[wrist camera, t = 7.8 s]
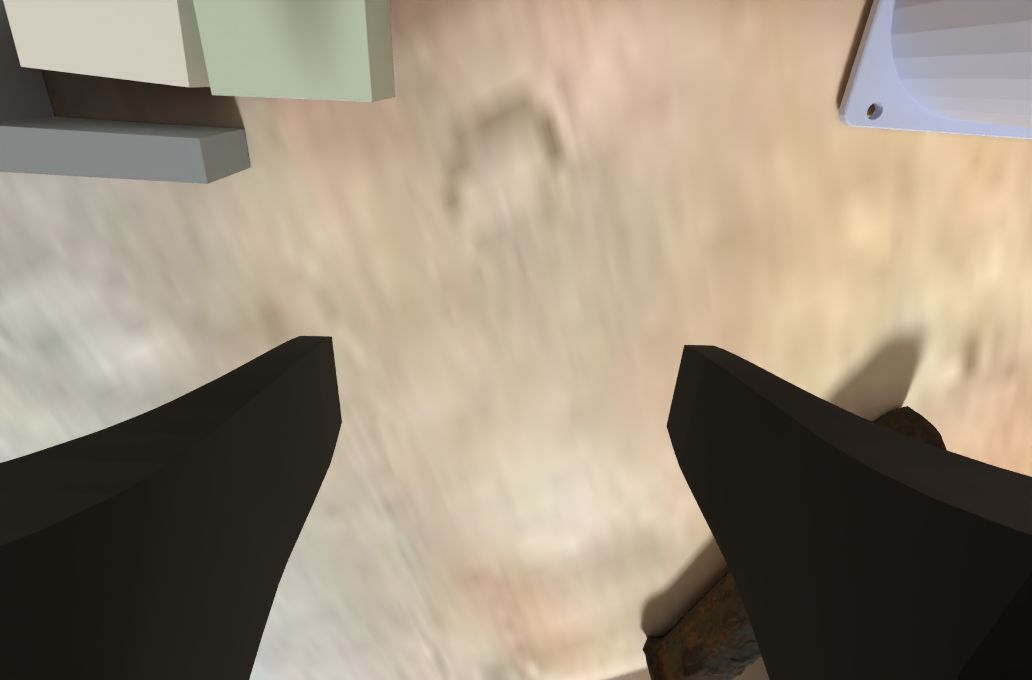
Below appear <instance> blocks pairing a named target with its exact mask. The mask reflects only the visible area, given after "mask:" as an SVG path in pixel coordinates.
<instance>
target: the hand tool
mask: <svg viewBox="0 0 1032 680" xmlns="http://www.w3.org/2000/svg"><path fill="white" fill-rule="evenodd" d="M873 423H875V424H878V425H880V426H883V427H885V428H888V429H891V430H893V431H896V432H898V433H901V434H903V435H906V436H908V437H911V438H913V439H916V440H918V441H921V442H924V443H927V444H930V445H932V446H935V447H938V448H941V449H944V450H946V447H945V444H944V442H943V440H942V437H941V435H940V433H939V432H938V431H937V429H936V428H935V427H934V426H933V425H932V424H931V423H930V422H929V421H928V420H926V419H925V418H924V417H923V416H921V415H920V414H919V413H917V412H915V411H914V410H913V409H911V408H910V407H908V406H907V407H902V408H899V409H896V410H895V411H892V412H888V413H886V414H885V415H884V416H882V417H880V418H879V419H877V420H876V421H874V422H873ZM946 451H947V450H946ZM643 651H644V653H645V655H646V661H647V666H648V669H649V673H650V676H651V680H733V679H734V678H735V677H736V676H738V675H741V674H742V673H743V671H744V670H745V668H746V667H747V666H749V665H750V664H753V663H754V662H755V661H756V660H758V658H759V657H761V656H762V655H761V652H760V649H759V646H758V643H757V640H756V637H755V635H754V632H753V629H752V626H751V623H750V621H749V618H748V615H747V613H746V610H745V607H744V604H743V602H742V599H741V596H740V594H739V591H738V588H737V586H736V583H735V580H734V578H733V576H732V574H731V571H729V572H728V574H727V575H726V576H725V577H723V578H722V579H721V580H720V581H719V582H718V583H717V584H716V585H715V586H714V587H713V588H712V589H711V590H710V591H709V592H708V593H707V594H706V595H705V596H704V597H703V598H702V599H701V600H700V601H699V602H698V603H697V604H696V605H695V606H694V607H693V608H692V609H691V610H690V611H689V612H688V613H687V614H686V615H685V616H684V617H683V618H682V619H681V620H680V621H679V623H678V624H677V625H676V626H675V628H674V629H673V630H671V631H670V632H669V633H668V634H667V635H666V636H665V637H664V638H660V637H654V636H649V637H648V638H647V640H646V642H645V645H644V648H643Z"/></svg>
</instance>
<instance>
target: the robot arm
mask: <svg viewBox="0 0 1032 680" xmlns="http://www.w3.org/2000/svg"><path fill="white" fill-rule="evenodd" d="M873 103H874V105H875V111H874V113H873V115H872V116H871V117H869V118H868V117H867V110H868V108H869V107H870V106H871V105H872V104H873ZM839 118H840V121H841V122H842V123H843V124H845V125H848V126H855V127H868V128H882V129H896V130H910V131H923V132H937V133H951V134H965V135H979V136H992V137H1006V138H1020V139H1032V0H874V1H873V4H872V7H871V11H870V14H869V17H868V20H867V23H866V26H865V29H864V33H863V36H862V39H861V42H860V45H859V48H858V52H857V55H856V58H855V61H854V64H853V67H852V71H851V74H850V77H849V80H848V83H847V86H846V90H845V93H844V96H843V99H842V102H841V105H840V109H839ZM341 423H342V419H341V410H340V402H339V394H338V385H337V377H336V368H335V360H334V352H333V343H332V337H324V336H299V337H296V338H294V339H292V340H289V341H287V342H285V343H283V344H281V345H279V346H277V347H275V348H274V349H272V350H270V351H268V352H266V353H264V354H262V355H261V356H259V357H257V358H255V359H253V360H251V361H250V362H248V363H246V364H244V365H242V366H240V367H238V368H237V369H235V370H233V371H231V372H229V373H227V374H225V375H224V376H222V377H220V378H218V379H216V380H214V381H212V382H210V383H208V384H206V385H203V386H201V387H199V388H197V389H195V390H193V391H191V392H189V393H187V394H185V395H183V396H181V397H179V398H177V399H175V400H173V401H171V402H169V403H166V404H164V405H162V406H160V407H158V408H155V409H153V410H151V411H148V412H146V413H144V414H141V415H139V416H136V417H134V418H131V419H129V420H126V421H124V422H121V423H119V424H116V425H114V426H111V427H108V428H106V429H103V430H100V431H98V432H95V433H92V434H89V435H86V436H83V437H80V438H77V439H74V440H71V441H68V442H65V443H62V444H59V445H56V446H53V447H50V448H47V449H44V450H41V451H38V452H35V453H32V454H29V455H26V456H23V457H20V458H16V459H13V460H10V461H6V462H2V463H0V680H249V678H250V675H251V671H252V668H253V665H254V661H255V658H256V655H257V651H258V648H259V645H260V641H261V638H262V635H263V632H264V628H265V625H266V622H267V619H268V616H269V613H270V610H271V607H272V603H273V600H274V597H275V594H276V591H277V588H278V585H279V582H280V579H281V577H282V574H283V572H284V569H285V567H286V564H287V562H288V559H289V557H290V555H291V552H292V550H293V548H294V546H295V543H296V541H297V539H298V537H299V534H300V532H301V530H302V527H303V525H304V523H305V521H306V518H307V516H308V514H309V512H310V509H311V507H312V505H313V503H314V500H315V498H316V496H317V494H318V491H319V489H320V487H321V484H322V482H323V480H324V477H325V475H326V473H327V470H328V468H329V466H330V463H331V460H332V456H333V453H334V449H335V446H336V442H337V438H338V435H339V431H340V427H341ZM667 429H668V432H669V435H670V439H671V442H672V445H673V449H674V452H675V455H676V458H677V461H678V464H679V466H680V468H681V471H682V473H683V475H684V477H685V479H686V481H687V483H688V485H689V487H690V489H691V491H692V493H693V496H694V498H695V500H696V502H697V504H698V506H699V508H700V510H701V512H702V514H703V516H704V518H705V520H706V522H707V524H708V526H709V528H710V530H711V532H712V534H713V536H714V538H715V540H716V542H717V544H718V546H719V548H720V550H721V552H722V554H723V556H724V558H725V560H726V562H727V565H728V567H729V569H730V571H731V574H732V576H733V578H734V580H735V583H736V586H737V588H738V591H739V594H740V596H741V599H742V602H743V604H744V607H745V610H746V613H747V615H748V618H749V621H750V623H751V626H752V629H753V632H754V635H755V637H756V640H757V643H758V646H759V649H760V652H761V655H762V658H763V661H764V664H765V667H766V670H767V673H768V676H769V679H770V680H1032V477H1030V476H1026V475H1023V474H1020V473H1016V472H1013V471H1009V470H1006V469H1002V468H999V467H996V466H993V465H989V464H986V463H983V462H980V461H977V460H974V459H971V458H968V457H965V456H962V455H959V454H956V453H953V452H949V451H946V450H944V449H941V448H938V447H935V446H932V445H930V444H927V443H924V442H921V441H918V440H916V439H913V438H911V437H908V436H906V435H903V434H901V433H898V432H896V431H893V430H891V429H888V428H885V427H883V426H880V425H878V424H875V423H873V422H871V421H868V420H866V419H864V418H861V417H859V416H857V415H855V414H853V413H850V412H848V411H846V410H844V409H842V408H840V407H838V406H835V405H833V404H831V403H829V402H827V401H825V400H823V399H821V398H819V397H817V396H815V395H813V394H811V393H809V392H807V391H805V390H803V389H801V388H799V387H797V386H795V385H793V384H791V383H789V382H787V381H785V380H783V379H781V378H779V377H778V376H776V375H774V374H772V373H770V372H768V371H766V370H764V369H762V368H760V367H758V366H757V365H755V364H753V363H751V362H749V361H747V360H745V359H743V358H741V357H739V356H737V355H735V354H733V353H730V352H728V351H726V350H724V349H721V348H718V347H716V346H706V345H684V349H683V354H682V358H681V363H680V368H679V372H678V377H677V381H676V386H675V390H674V395H673V399H672V404H671V408H670V413H669V417H668V422H667Z"/></svg>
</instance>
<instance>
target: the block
mask: <svg viewBox="0 0 1032 680" xmlns="http://www.w3.org/2000/svg"><path fill="white" fill-rule="evenodd" d="M3 2H4V5H5V9H6V13H7V17H8V20H9V24H10V28H11V32H12V35H13V39H14V43H15V46H16V50H17V54H18V58H19V61H20V65H21V67H28V68H36V69H44V70H52V71H60V72H68V73H76V74H84V75H92V76H101V77H109V78H117V79H125V80H133V81H141V82H149V83H157V84H165V85H173V86H181V87H210V83H209V78H208V73H207V68H206V63H205V58H204V53H203V48H202V43H201V38H200V33H199V28H198V23H197V18H196V13H195V8H194V3H193V0H3Z"/></svg>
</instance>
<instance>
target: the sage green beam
mask: <svg viewBox="0 0 1032 680" xmlns="http://www.w3.org/2000/svg"><path fill="white" fill-rule="evenodd" d="M193 3H194V8H195V13H196V18H197V23H198V28H199V33H200V38H201V43H202V48H203V53H204V58H205V63H206V68H207V73H208V78H209V83H210V88H211V93H212V95H222V96H246V97H269V98H293V99H316V100H339V101H363V102H374V101H379V100H383V99H388V98H393V97H395V86H394V68H393V51H392V33H391V16H390V0H193Z"/></svg>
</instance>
